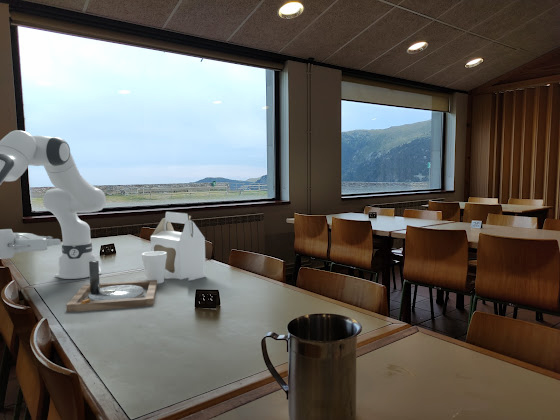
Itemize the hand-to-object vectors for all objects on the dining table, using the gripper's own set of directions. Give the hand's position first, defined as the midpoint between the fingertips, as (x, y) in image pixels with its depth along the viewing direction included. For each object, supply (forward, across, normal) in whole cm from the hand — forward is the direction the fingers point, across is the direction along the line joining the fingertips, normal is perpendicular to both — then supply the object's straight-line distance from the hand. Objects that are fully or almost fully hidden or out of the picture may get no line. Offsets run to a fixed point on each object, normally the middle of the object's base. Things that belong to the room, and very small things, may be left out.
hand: (56, 240), depth 133 cm
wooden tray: (+18, -3, +23) cm, 29 cm away
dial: (+18, -3, +21) cm, 28 cm away
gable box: (+52, +16, +22) cm, 59 cm away
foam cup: (+38, +8, +22) cm, 44 cm away
